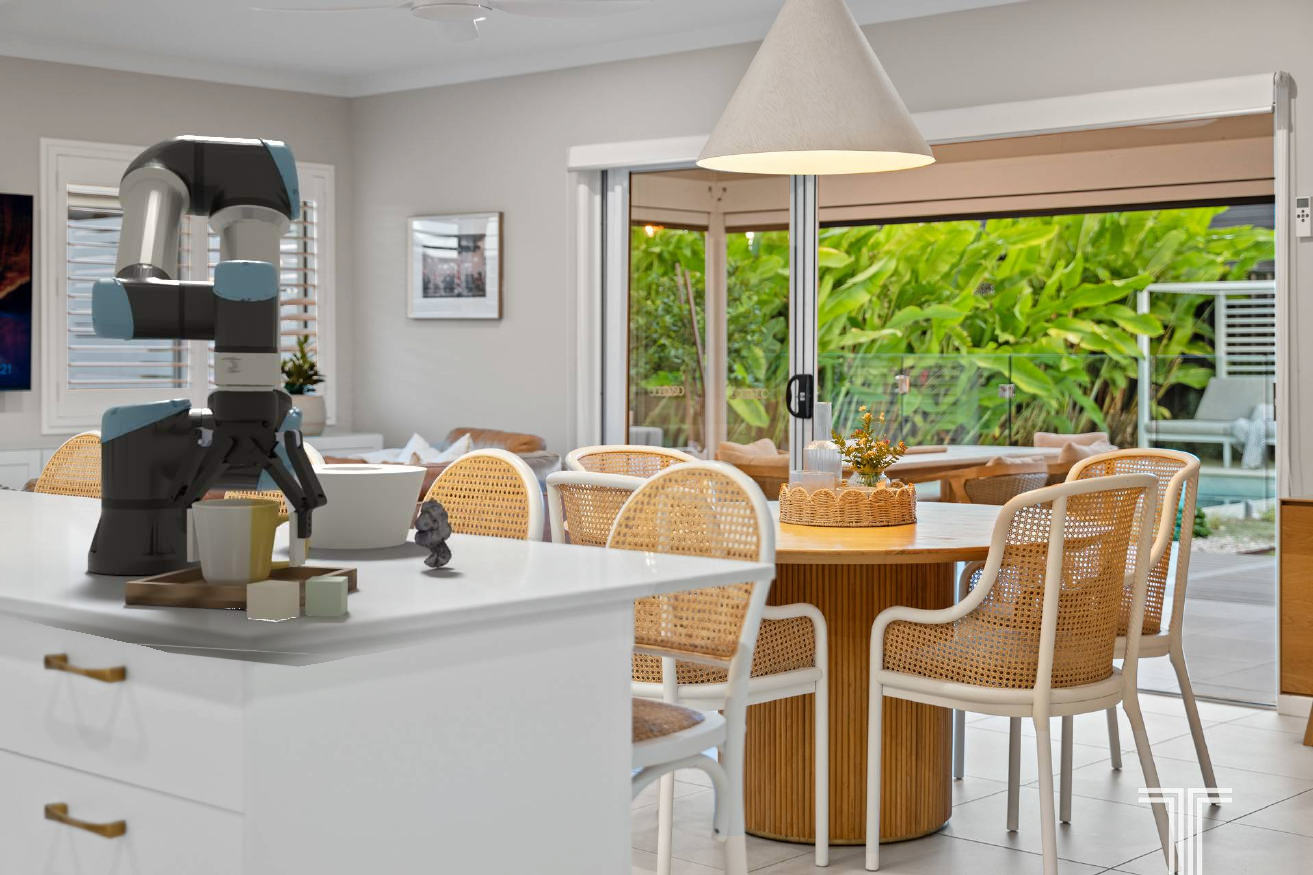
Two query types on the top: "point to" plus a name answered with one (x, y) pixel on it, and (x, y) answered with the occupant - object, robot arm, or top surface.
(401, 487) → the bowl
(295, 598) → the cream block
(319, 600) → the sage block
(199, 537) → the mug
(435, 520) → the grey stone bust
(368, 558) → the top surface
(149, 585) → the tray
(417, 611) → the top surface
